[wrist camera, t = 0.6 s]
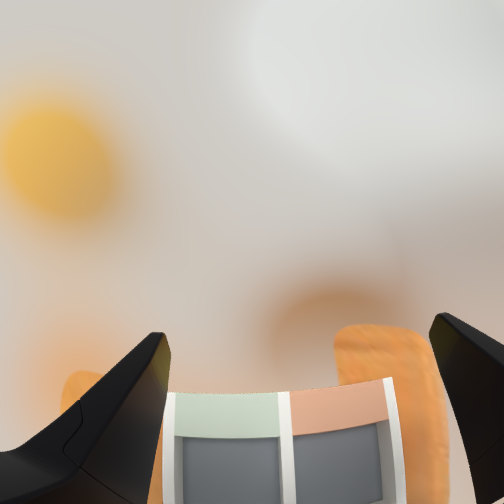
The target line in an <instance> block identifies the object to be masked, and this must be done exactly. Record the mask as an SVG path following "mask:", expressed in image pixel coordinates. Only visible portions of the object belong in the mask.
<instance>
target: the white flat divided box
mask: <svg viewBox="0 0 504 504" xmlns="http://www.w3.org/2000/svg"><path fill="white" fill-rule="evenodd" d="M162 476H163V504H406V482H405V468H404V457H403V447H402V439H401V431H400V423H399V416H398V410H397V403H396V397H395V392H394V386H393V381H392V377H389V378H384V379H379V380H374V381H368V382H362V383H356V384H350V385H343V386H336V387H329V388H321V389H311V390H302V391H289V392H276V393H256V394H196V393H175V392H167V399H166V405H165V410H164V419H163V460H162Z"/></svg>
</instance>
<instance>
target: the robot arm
mask: <svg viewBox="0 0 504 504" xmlns="http://www.w3.org/2000/svg"><path fill="white" fill-rule="evenodd" d="M429 339H430V342H431V345H432V348H433V352H434V355H435V358H436V362H437V365H438V368H439V372H440V375H441V377H442V380H443V383H444V385H445V388H446V391H447V393H448V396H449V399H450V402H451V405H452V408H453V411H454V414H455V417H456V420H457V423H458V426H459V429H460V433H461V436H462V440H463V444H464V447H465V451H466V455H467V459H468V463H469V465H470V466H469V468H470V472H471V477H472V481H473V486H474V491H475V497H476V503H477V504H492V503H494V502H495V501H497V500H499V499H501V498H503V497H504V345H503V344H501V343H499V342H497V341H496V340H494V339H492V338H491V337H489V336H487V335H486V334H484V333H482V332H480V331H479V330H477V329H475V328H473V327H472V326H470V325H468V324H467V323H465V322H463V321H461V320H460V319H458V318H456V317H454V316H453V315H451V314H449V313H446V312H445V313H439V314H437V315H436V316H435V319H434V321H433V324H432V326H431V329H430V331H429ZM170 361H171V352H170V348H169V345H168V341H167V338H166V335H165V334H164V333H163V332H152V333H150V334H149V335H148V336H147V337H146V338H145V339H143V340H142V341H141V342H140V343H139V344H138V345H137V346H136V347H135V348H134V349H133V350H132V351H130V352H129V353H128V354H127V355H126V356H125V357H124V358H123V359H122V360H121V361H120V362H118V364H116V365H115V366H114V367H113V368H112V369H111V370H110V371H109V372H108V373H107V374H105V375H104V376H103V377H102V378H101V379H100V380H99V381H98V382H97V383H96V384H95V385H94V386H93V387H91V388H90V389H89V390H88V391H87V392H86V393H85V394H84V395H83V396H82V397H81V398H80V400H77V401H76V402H75V403H74V404H73V405H72V406H71V407H70V408H69V409H68V410H66V411H65V412H64V413H63V414H62V415H61V416H60V417H58V418H57V419H56V420H55V421H53V422H52V423H51V424H50V425H48V426H47V427H46V428H44V429H43V430H42V431H40V432H39V433H38V434H36V435H35V436H34V437H32V438H31V439H30V440H28V441H27V442H26V443H25V444H23V445H21V446H20V447H18V448H16V449H13V450H10V451H5V452H0V504H147V500H148V494H149V488H150V482H151V476H152V470H153V465H154V459H155V454H156V449H157V444H158V439H159V434H160V429H161V424H162V419H163V414H164V410H165V405H166V399H167V391H168V379H169V370H170ZM503 504H504V503H503Z"/></svg>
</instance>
